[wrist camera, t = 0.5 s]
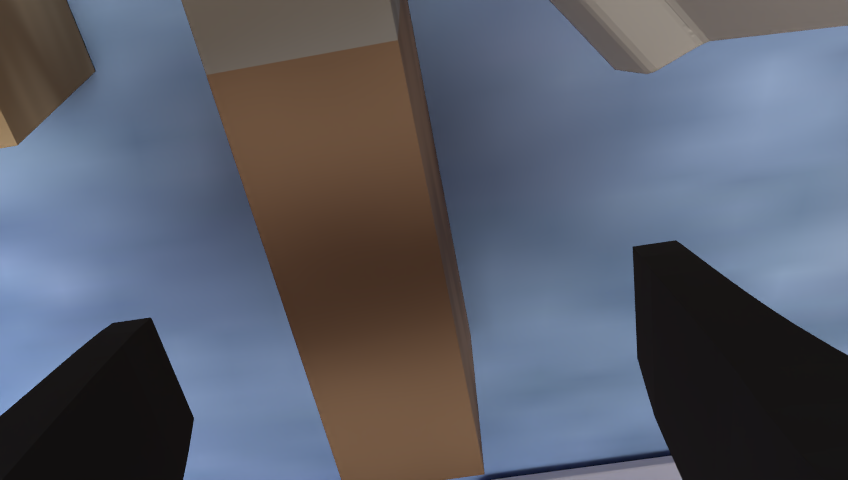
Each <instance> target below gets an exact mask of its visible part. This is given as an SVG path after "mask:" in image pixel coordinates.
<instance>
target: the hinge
mask: <svg viewBox="0 0 848 480" xmlns="http://www.w3.org/2000/svg"><path fill="white" fill-rule="evenodd" d="M550 1H551V2H552V3H553V4H554V5H555V6H556V8H557V9H558V10H559V11H560V12H561V13H562V14H563V15H564V16H565V17H566V18H567V19H568V20H569V21H570V22H571V23H572V24H573V25H574V27H575V28H576V29H577V30H578V31H579V32H580V33H581V34H582V35H583V36H584V37H585V38H586V39H587V40H588V41H589V42H590V43H591V45H592V46H593V47H594V48H595V49H596V50H597V51H598V52H599V53H600V54H601V55H602V56H603V57H604V58H605V59H606V60H607V61H608V63H609V64H610V65H611V66H612V67H613V68H614V69H615V70H621V71H629V72H636V73H643V74H649V73H653V72H655V71H657V70H659V69H660V68H662V67H664V66H665V65H667V64H669V63H671V62H672V61H674V60H676V59H677V58H679V57H681V56H682V55H684V54H686V53H688V52H689V51H691V50H693V49H694V48H696V47H698V46H700V45H702V44H704V43H706V42H709V41H715V40H724V39H732V38H741V37H750V36H759V35H768V34H777V33H785V32H794V31H803V30H812V29H821V28H829V27H838V26H847V25H848V0H550Z"/></svg>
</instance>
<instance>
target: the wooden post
mask: <svg viewBox="0 0 848 480" xmlns="http://www.w3.org/2000/svg"><path fill="white" fill-rule="evenodd" d="M94 72H95V70H94V67H93V65H92V62H91V60H90V57H89V55H88V52H87V50H86V47H85V45H84V43H83V40H82V38H81V35H80V33H79V30H78V28H77V25H76V23H75V20H74V18H73V16H72V13H71V11H70V8H69V6H68V3H67V1H66V0H0V148H5V147H11V146H16V145H18V144H19V143H20V142H22V141H23V140H24V139H25V138H26V137H27V136H28V135H29V134H30V133H31V132H32V131H33V130H34V129H35V128H36V127H37V126H38V125H39V124H41V123H42V122H43V121H44V120H45V119H46V118H47V117H48V116H49V115H50V114H51V113H52V112H53V111H54V110H55V109H56V108H57V107H58V106H60V105H61V104H62V103H63V102H64V101H65V100H66V99H67V98H68V97H69V96H70V95H71V94H72V93H73V92H74V91H75V90H76V89H77V88H79V87H80V86H81V85H82V84H83V83H84V82H85V81H86V80H87V79H88V78H89V77H90V76H91V75H92V74H93V73H94Z"/></svg>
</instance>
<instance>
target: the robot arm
mask: <svg viewBox="0 0 848 480" xmlns="http://www.w3.org/2000/svg"><path fill="white" fill-rule="evenodd" d="M633 264H634V288H635V311H636V335H637V358H638V362H639V365H640V369H641V372H642V376H643V379H644V382H645V386H646V389H647V393H648V396H649V399H650V403H651V406H652V409H653V412H654V416H655V418H656V421H657V423H658V426H659V428H660V430H661V433H662V435H663V437H664V439H665V442H666V444H667V446H668V449H669V451H670V453H671V455H672V456H664V457H657V458H650V459H642V460H635V461H627V462H620V463H612V464H605V465H597V466H590V467H582V468H575V469H567V470H560V471H552V472H545V473H538V474H530V475H523V476H515V477H508V478H500V479H493V480H848V355H846V354H844V353H843V352H841V351H839V350H837V349H835V348H834V347H832V346H830V345H829V344H827V343H825V342H824V341H822V340H820V339H819V338H817V337H815V336H814V335H812V334H810V333H808V332H807V331H805V330H803V329H802V328H800V327H798V326H797V325H795V324H794V323H792V322H790V321H789V320H787V319H786V318H784V317H783V316H781V315H780V314H778V313H776V312H775V311H773V310H772V309H770V308H769V307H767V306H766V305H764V304H763V303H761V302H760V301H759V300H757V299H756V298H754V297H753V296H751V295H750V294H748V293H747V292H746V291H744V290H743V289H741V288H740V287H738V286H737V285H736V284H734V283H733V282H731V281H730V280H729V279H727V278H726V277H725V276H723V275H722V274H721V273H719V272H718V271H716V270H715V269H714V268H712V267H711V266H710V265H708V264H707V263H706V262H704V261H703V260H702V259H700V258H699V257H698V256H696V255H695V254H694V253H692V252H691V251H690V250H688V249H687V248H686V247H684V246H683V245H682V244H680V243H679V242H677V241H676V240H675V241H668V242H662V243H655V244H648V245H641V246H634V247H633ZM193 421H194V417H193V415H192V413H191V410H190V408H189V406H188V403H187V401H186V398H185V396H184V394H183V391H182V389H181V387H180V384H179V382H178V380H177V377H176V375H175V373H174V370H173V368H172V366H171V363H170V361H169V358H168V356H167V354H166V351H165V349H164V347H163V344H162V342H161V340H160V337H159V335H158V333H157V330H156V328H155V326H154V323H153V321H152V319H151V318H144V319H137V320H131V321H124V322H117V323H112V324H111V325H109V326H108V327H106V328H105V329H104V330H102V331H101V332H100V333H98V334H97V335H96V336H94V337H93V338H92V339H91V340H89V341H88V342H87V343H86V344H84V345H83V346H82V347H81V348H80V349H78V350H77V351H76V352H75V353H74V354H72V355H71V356H70V357H69V358H68V359H67V360H65V361H64V362H63V363H62V364H61V365H60V366H58V367H57V368H56V369H55V370H54V371H53V372H51V373H50V374H49V375H48V376H47V377H46V378H44V379H43V380H42V381H41V382H40V383H39V384H37V385H36V386H35V387H34V388H33V389H32V390H30V391H29V392H28V393H27V394H26V395H25V396H23V397H22V398H21V399H20V400H19V401H18V402H16V403H15V404H14V405H13V406H12V407H10V408H9V409H8V410H7V411H6V412H5V413H3V414H2V415H1V416H0V480H183V477H184V472H185V467H186V462H187V457H188V452H189V446H190V440H191V433H192V427H193Z"/></svg>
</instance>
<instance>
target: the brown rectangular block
mask: <svg viewBox="0 0 848 480" xmlns="http://www.w3.org/2000/svg"><path fill="white" fill-rule="evenodd" d="M181 1H182V4H183V7H184V10H185V13H186V16H187V19H188V22H189V25H190V28H191V31H192V34H193V37H194V40H195V43H196V46H197V49H198V52H199V55H200V58H201V61H202V64H203V67H204V70H205V73H206V76H207V79H208V82H209V85H210V88H211V91H212V94H213V97H214V100H215V103H216V106H217V108H218V111H219V114H220V117H221V120H222V123H223V126H224V129H225V132H226V135H227V138H228V141H229V144H230V147H231V150H232V153H233V156H234V159H235V162H236V165H237V168H238V171H239V174H240V177H241V180H242V183H243V186H244V189H245V192H246V195H247V198H248V201H249V204H250V207H251V210H252V213H253V216H254V219H255V222H256V225H257V228H258V231H259V234H260V237H261V240H262V243H263V246H264V249H265V252H266V255H267V258H268V261H269V264H270V267H271V270H272V273H273V276H274V279H275V282H276V285H277V288H278V291H279V294H280V297H281V300H282V303H283V306H284V309H285V312H286V315H287V318H288V321H289V324H290V327H291V330H292V333H293V336H294V339H295V342H296V345H297V348H298V351H299V354H300V357H301V360H302V363H303V366H304V369H305V372H306V375H307V378H308V381H309V384H310V387H311V390H312V393H313V396H314V399H315V402H316V405H317V408H318V411H319V414H320V417H321V420H322V423H323V426H324V429H325V432H326V435H327V438H328V441H329V444H330V447H331V450H332V453H333V456H334V459H335V462H336V465H337V468H338V471H339V474H340V477H341V480H446V479H453V478H461V477H468V476H476V475H483V474H484V464H483V454H482V444H481V434H480V424H479V414H478V404H477V394H476V384H475V374H474V364H473V354H472V344H471V335H470V330H469V324H468V319H467V314H466V309H465V303H464V298H463V293H462V287H461V282H460V277H459V271H458V266H457V261H456V255H455V250H454V245H453V240H452V234H451V229H450V224H449V218H448V213H447V208H446V202H445V197H444V192H443V186H442V181H441V176H440V171H439V165H438V160H437V155H436V149H435V144H434V139H433V133H432V128H431V123H430V117H429V112H428V107H427V101H426V96H425V91H424V86H423V80H422V75H421V70H420V64H419V59H418V54H417V48H416V43H415V38H414V32H413V27H412V22H411V17H410V11H409V6H408V1H407V0H181Z"/></svg>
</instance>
